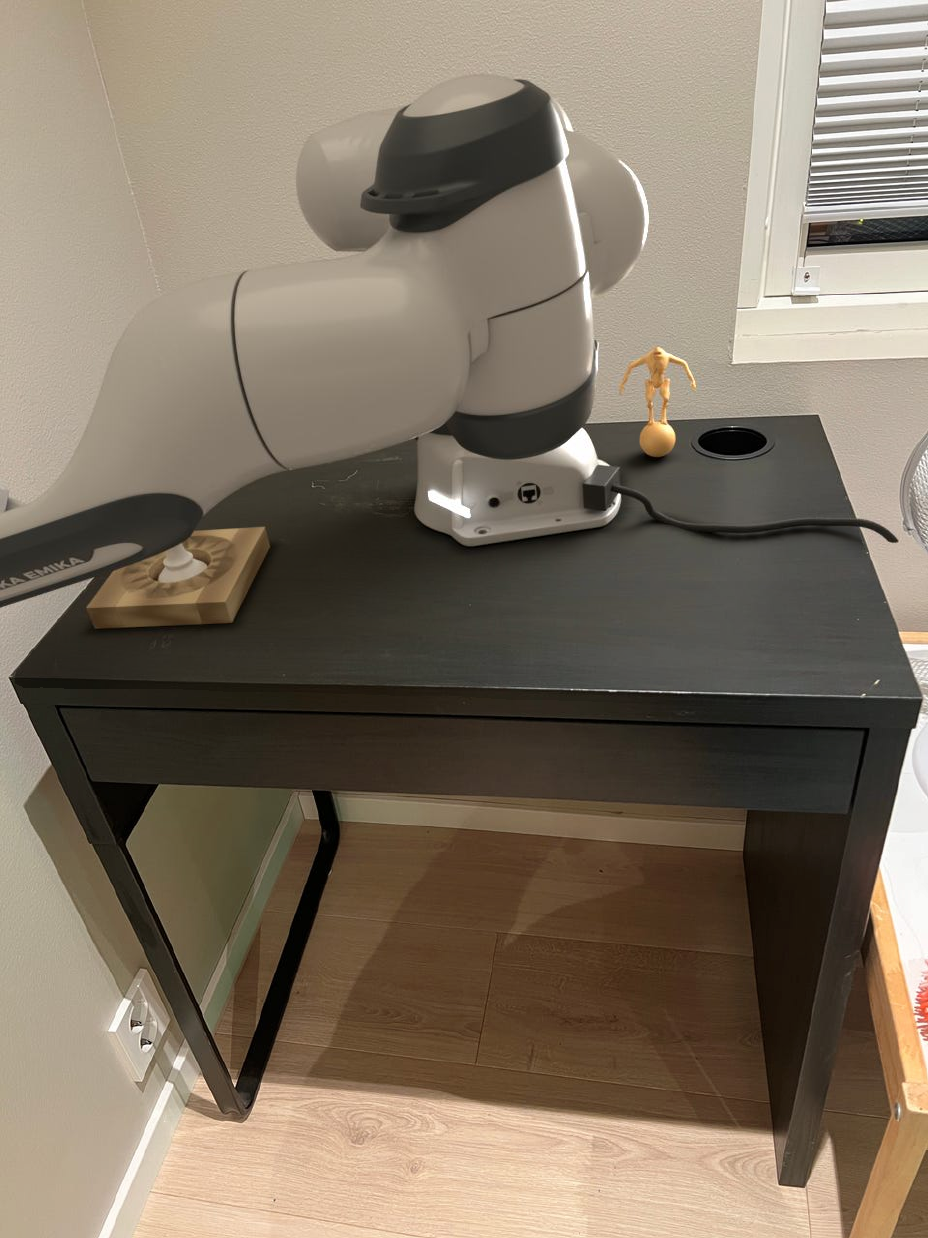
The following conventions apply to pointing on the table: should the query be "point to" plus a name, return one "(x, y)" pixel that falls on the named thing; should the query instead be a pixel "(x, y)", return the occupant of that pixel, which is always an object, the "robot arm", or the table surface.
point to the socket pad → (184, 584)
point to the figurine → (659, 434)
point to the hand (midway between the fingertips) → (56, 554)
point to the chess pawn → (180, 565)
